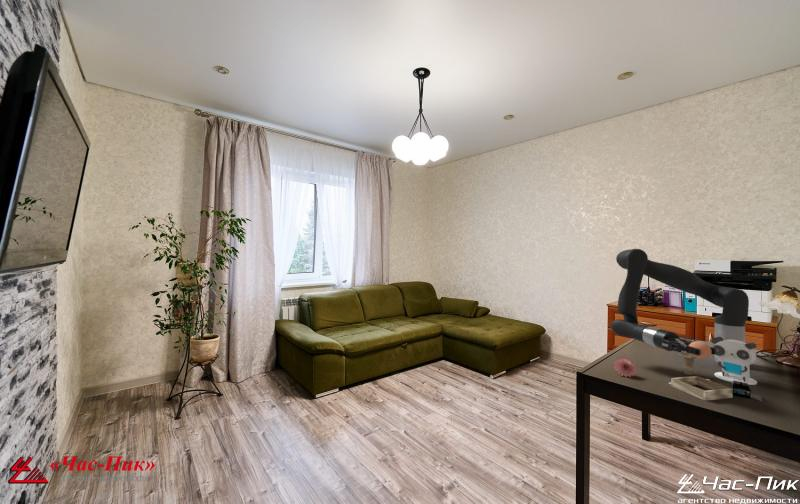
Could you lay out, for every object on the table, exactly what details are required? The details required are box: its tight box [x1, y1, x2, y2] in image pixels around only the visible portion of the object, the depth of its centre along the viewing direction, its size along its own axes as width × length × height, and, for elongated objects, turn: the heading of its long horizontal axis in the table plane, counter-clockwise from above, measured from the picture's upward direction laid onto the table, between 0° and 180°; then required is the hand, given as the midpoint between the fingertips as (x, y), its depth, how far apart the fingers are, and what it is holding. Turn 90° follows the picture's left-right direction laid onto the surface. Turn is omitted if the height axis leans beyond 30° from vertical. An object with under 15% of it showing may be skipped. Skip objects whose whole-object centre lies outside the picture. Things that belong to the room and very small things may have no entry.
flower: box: [613, 357, 638, 378], centre depth 127 cm, size 8×8×6 cm
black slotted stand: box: [730, 380, 764, 402], centre depth 109 cm, size 12×7×5 cm, turn 48°
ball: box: [689, 340, 712, 360], centre depth 111 cm, size 6×6×6 cm
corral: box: [670, 375, 733, 401], centre depth 111 cm, size 11×11×3 cm
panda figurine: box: [710, 336, 758, 386], centre depth 122 cm, size 12×11×15 cm
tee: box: [678, 351, 696, 376], centre depth 127 cm, size 4×4×9 cm
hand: (707, 352), depth 109 cm, fingers closed on ball, 6 cm apart
